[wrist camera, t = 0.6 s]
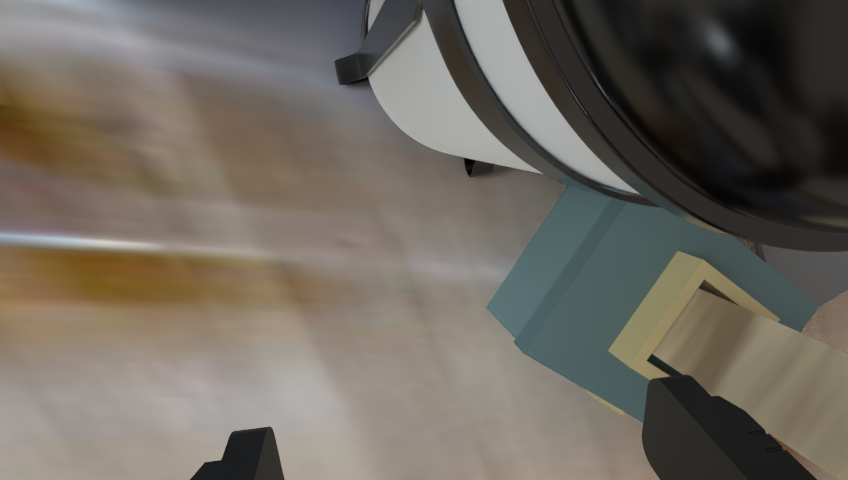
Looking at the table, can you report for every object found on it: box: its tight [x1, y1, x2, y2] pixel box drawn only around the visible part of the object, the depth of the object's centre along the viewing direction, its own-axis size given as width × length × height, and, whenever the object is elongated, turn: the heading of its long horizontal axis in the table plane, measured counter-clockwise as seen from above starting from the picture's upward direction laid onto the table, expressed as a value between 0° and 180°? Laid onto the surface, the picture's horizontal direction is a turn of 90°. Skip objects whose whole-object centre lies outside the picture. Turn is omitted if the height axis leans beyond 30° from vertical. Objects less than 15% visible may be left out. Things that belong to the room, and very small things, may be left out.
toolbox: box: [487, 186, 819, 422], centre depth 33 cm, size 16×13×9 cm
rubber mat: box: [755, 243, 848, 306], centre depth 40 cm, size 11×10×1 cm
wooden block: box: [652, 288, 848, 480], centre depth 24 cm, size 4×4×14 cm
